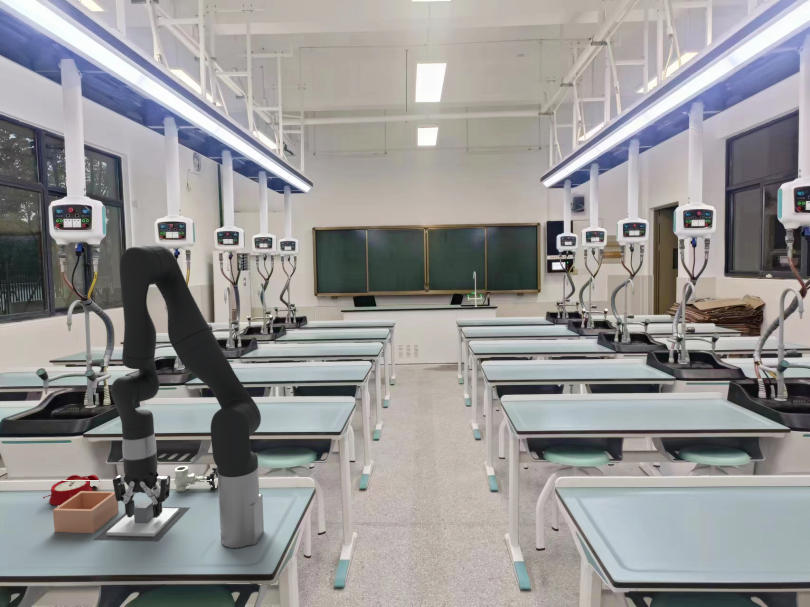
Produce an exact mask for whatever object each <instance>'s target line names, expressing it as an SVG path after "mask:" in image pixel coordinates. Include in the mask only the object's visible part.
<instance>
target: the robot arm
mask: <svg viewBox="0 0 810 607" xmlns="http://www.w3.org/2000/svg"><path fill="white" fill-rule="evenodd" d="M119 277H120V278H119V279H120V280H119V282H120V289H121V290H120V291H121V299H122V300H121V301H122V309H123V322H124V323H123V325H124V332H123V345H122V354H121V360H122V361H121V363H122V365H123V366H124V367H125V368H128V369H131V370H138V373H132V374H129V375H124V376H120V377H117V378H115V380H114V381H113V382H112V384H111V388H110V395H111V399H112V401H113V403H114V405H115V407H116V410H117V413H118V415H119V418H120V419H119V420H120V422H121V433H122V445H121V448H122V451H121V452H122V461H123V462H122V463H123V465H122V466H123V473H124V475H123V474H119V475H117V476H116V477H114V478H113V479H112V485H113V492H115V496H116V500H117V501H118V502H120V501H121V502H122V503H123V504H124V511H125V512H124V513H126V515H127V517H132V516H133V515H134V507H135V506H136V505H135V500H134V497H135V495H136V494H138V493H140V494H141V493H142V494H146V497H147V498H150V500H151V502H153V517H154V518H157V517H158V516H159V515H160V514H161V513H162V507H163V503H164V502H165V501H166V500H167V499H168V498H170V492H171V491H170V489H171V488H170V487H171V476H170V475H168V474H167V475H165V476H160V475H159V473H158V454H157V453H158V451H157V440H156V436H155V425H154V424H155V423H154V414H153V412H152V411H151V410H149V409H136V408H135V404H137V403H141V402H145V401H148V400H151V399H153V398H154V397H156V395H157V394H158V392H159V390H160V380H159V376H158V371H157V367H156V362H155V361H156V360H155V356H156V355H155V354H156V346H157V330H156V327H155V324H154V322H153V319H152V317H151V314H150V313H149V310H148V301H147V299H148V293H149V292H148V291H149V287H150V286H151V285H155V286H156V288H157V289H158V290H159V293H160V294H161V297H162V298H163V300H164V302H165V306H166V309H167V336H168V340H169V342H170V344H171V346H172V349H173V350H174V351H175V354H176V355H177V357H178V359H179V360H180V362H181V363H182V365H183V366H184V367H185V369H187V370H188V372H190V373H191V374H192V375H193V376H195V377H196V378H197V379H198V380H200V381H201V382H202V383H203V384H205V385H206V386H207V388H209V390H210V391H211V392H212V394H213V395H214V397H215V399H216V401H217V402H218V404H219V406H220V409H218V410H217V411H216V412H215V413H214V414H213V416H212V418H211V422H210V440H211V450H212V459H213V461H214V464H215V465H216V467H217V472H218V484H217V486H218V487H217V488H218V490H217V491H218V507H219V508H218V509H219V510H218V511H219V528H220V530H219V531H220V533H219V534H220V542H221V544H222V545H223V546H225V547H226V548H230V549H231V548H233V549H237V548H238V549H239V547H240V548H244V546H245V547H248V546H250V545H252V546H253V545H257V543H258V541H259V539H260V538H261V536H263V534H264V531H265V527H264V526H265V525H264V502H263V500H264V499H263V494H260V484H259V482H260V480H259V458H258V455H257V453H255V452H253V451H252V450H251V449H252V448H251V440H250V437H251V436H252V435H253V434H255V432H256V431H257V430H258V429H259V427H260V425H261V422H262V415H261V412H260V409H259V407H258V405H257V403H256V402H255V401H254V399H253V398H252V396H251V395H250V393H249V391H248V390H247V389H246V388H245V386H244V385H243V383H242V382H241V380H240V379H239V378H238V375H237V374H236V372H235V371H234V369H233V367H232V365H231V364H230V362H229V360H228V359H227V356H226V354H224V351H223V349H222V347H221V346H220V343H219V342H218V340H217V338H216V336H215V334H214V332H213V330H212V329H211V327H210V325H209V324H208V322H207V321H206V319H205V316H204V315H203V314H202V312H201V309H200V307H199V306H198V304H197V302H196V300H195V298H194V296H193V294H192V292H191V290H190V288H189V286H188V283H187V282H186V279H185V276H184V274H183V272H182V270H181V267H180V264H179V263H178V260H177V258H176V257H175V255H174V253H173V252H172V251H171V249H169V248H168V247H167V246H165V245H163V244H145V245H136V246H130V247H127V249H125V250H124V251H123V252H122V254H121V255H120V260H119ZM157 483H158V484H157ZM126 485H127V486H128V487H127V490H126ZM247 545H248V546H247Z"/></svg>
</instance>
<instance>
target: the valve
mask: <svg viewBox="0 0 810 607" xmlns="http://www.w3.org/2000/svg"><path fill="white" fill-rule="evenodd" d="M211 470H212V472H211V473H210V474H208V475H207V476H205V475H199V476H198V475H197V473H191V474H189V467H188V465H187V466H186V465H181V466H178V467H176V468H174V475H175V476H174V479H175V480H173V482H174V485H175V490H176V492H185V491H187V490H186V487H187V486H189V487H190V486H191V485H196V483H205V481H200V480H210V479H212V481H206V483H208V485H209V486H211V485H212V486H211V487H210V490H211V491H215V490H216V489H215V482H214V479H215V478H218V472H217V466H215V467H212V468H211ZM195 482H196V483H195Z"/></svg>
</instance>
